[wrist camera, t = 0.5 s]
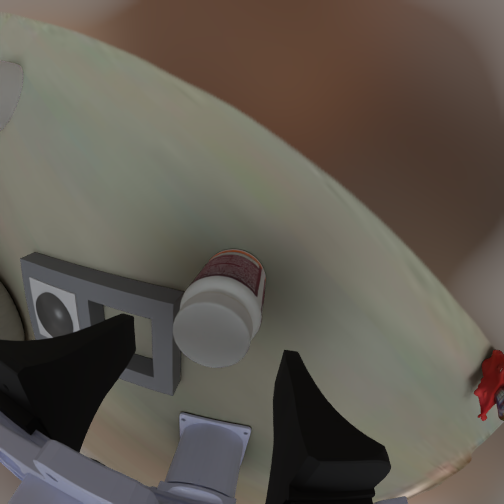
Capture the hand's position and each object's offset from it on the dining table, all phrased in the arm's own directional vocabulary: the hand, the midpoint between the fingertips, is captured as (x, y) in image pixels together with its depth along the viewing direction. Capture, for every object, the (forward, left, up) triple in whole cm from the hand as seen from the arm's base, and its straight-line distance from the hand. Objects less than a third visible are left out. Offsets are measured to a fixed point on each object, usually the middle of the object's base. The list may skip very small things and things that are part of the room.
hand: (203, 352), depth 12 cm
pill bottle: (0, 0, -10) cm, 10 cm away
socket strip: (-7, +13, -10) cm, 18 cm away
